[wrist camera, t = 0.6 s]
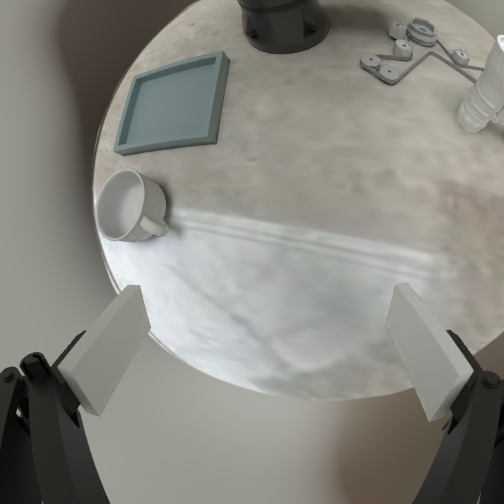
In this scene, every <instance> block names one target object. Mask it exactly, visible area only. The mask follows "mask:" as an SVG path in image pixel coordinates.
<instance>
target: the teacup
mask: <svg viewBox="0 0 504 504" xmlns="http://www.w3.org/2000/svg"><path fill="white" fill-rule="evenodd" d="M165 211H166V200H165V195H164V193H163V191H162V189H161V187H160V186H159V185H158V184H157V183H156V182H155V181H153V180H152V179H150V178H148V177H146V176H144V175H142V174H140V173H138V172H137V171H135V170H134V169H130V168H124V169H120V170H118V171H116V172H115V173H113V174H112V175H111V176H110V177H109V178H108V179H107V180H106V182H105V183H104V185H103V186H102V188H101V190H100V192H99V195H98V198H97V202H96V207H95V219H96V224H97V228H98V230H99V232H100V233H101V235H102V236H103V237H105V238H106V239H108V240H111V241H125V242H140V241H144V240H146V239H148V238H150V237H151V236H152V235H156V236H164V235H165V234H166V233H167V231H168V225H167V224H166V223H165V221H164V220H163V219H164V216H165Z"/></svg>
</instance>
